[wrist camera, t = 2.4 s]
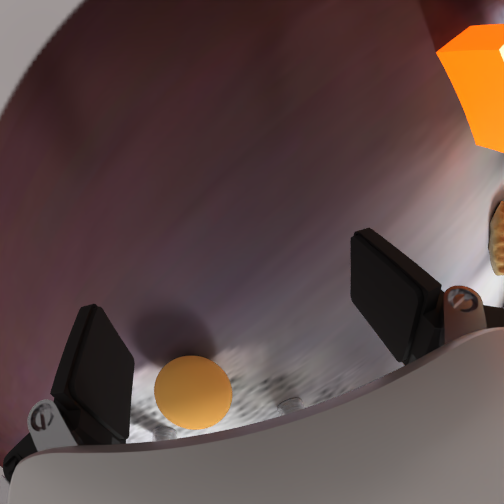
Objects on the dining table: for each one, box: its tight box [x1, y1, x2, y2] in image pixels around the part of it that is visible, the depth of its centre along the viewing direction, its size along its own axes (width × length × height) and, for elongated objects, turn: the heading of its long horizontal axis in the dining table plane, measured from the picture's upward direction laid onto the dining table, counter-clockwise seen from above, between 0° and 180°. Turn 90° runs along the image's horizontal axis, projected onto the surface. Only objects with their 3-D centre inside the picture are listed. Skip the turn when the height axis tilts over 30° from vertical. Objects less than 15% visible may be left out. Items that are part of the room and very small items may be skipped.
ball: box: [154, 356, 232, 430], centre depth 18 cm, size 6×6×6 cm
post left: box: [152, 427, 177, 442], centre depth 21 cm, size 3×3×8 cm
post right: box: [278, 398, 305, 416], centre depth 22 cm, size 3×3×8 cm
